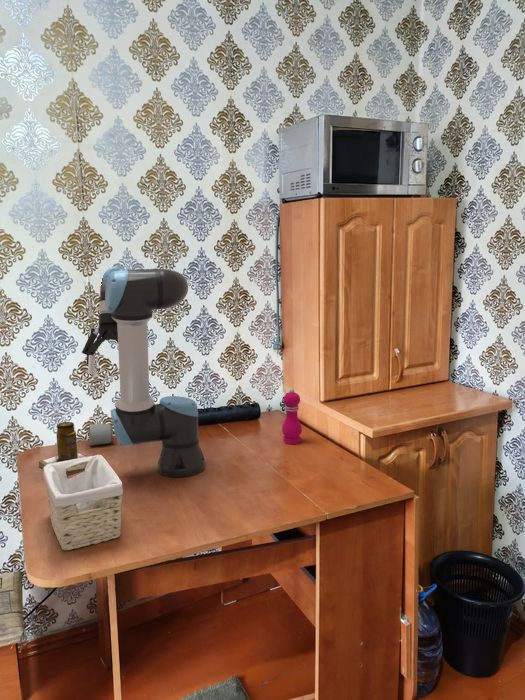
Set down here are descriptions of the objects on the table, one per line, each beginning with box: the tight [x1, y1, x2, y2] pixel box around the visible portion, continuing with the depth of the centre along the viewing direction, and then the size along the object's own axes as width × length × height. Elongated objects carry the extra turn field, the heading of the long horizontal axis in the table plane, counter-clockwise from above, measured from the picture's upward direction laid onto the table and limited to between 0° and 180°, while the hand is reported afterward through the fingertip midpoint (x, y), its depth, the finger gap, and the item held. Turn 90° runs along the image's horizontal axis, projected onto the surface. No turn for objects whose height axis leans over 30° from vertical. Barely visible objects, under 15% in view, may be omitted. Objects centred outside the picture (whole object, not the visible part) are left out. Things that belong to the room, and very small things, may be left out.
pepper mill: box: [281, 387, 303, 445], centre depth 204 cm, size 7×7×20 cm
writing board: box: [38, 451, 89, 477], centre depth 186 cm, size 14×13×2 cm
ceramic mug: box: [88, 423, 114, 447], centre depth 207 cm, size 11×8×8 cm
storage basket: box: [42, 454, 124, 551], centre depth 145 cm, size 24×16×15 cm
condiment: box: [54, 421, 80, 462], centre depth 184 cm, size 7×8×12 cm
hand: (107, 372), depth 201 cm, fingers open, 13 cm apart
